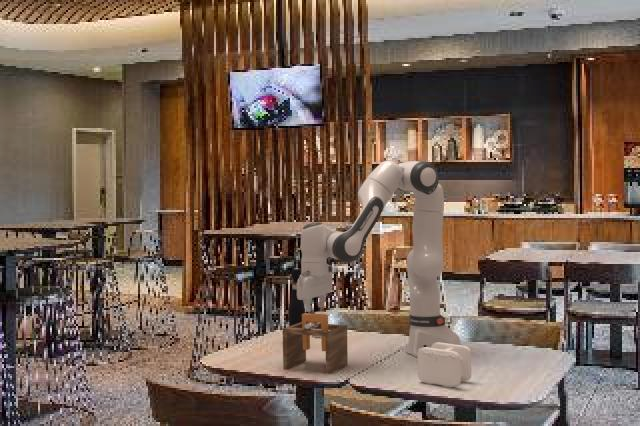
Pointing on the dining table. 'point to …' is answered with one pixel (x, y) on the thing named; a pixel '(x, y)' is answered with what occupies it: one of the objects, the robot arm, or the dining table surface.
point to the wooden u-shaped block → (314, 318)
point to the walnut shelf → (333, 338)
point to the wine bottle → (295, 301)
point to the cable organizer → (444, 364)
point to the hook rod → (311, 325)
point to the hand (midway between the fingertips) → (315, 309)
